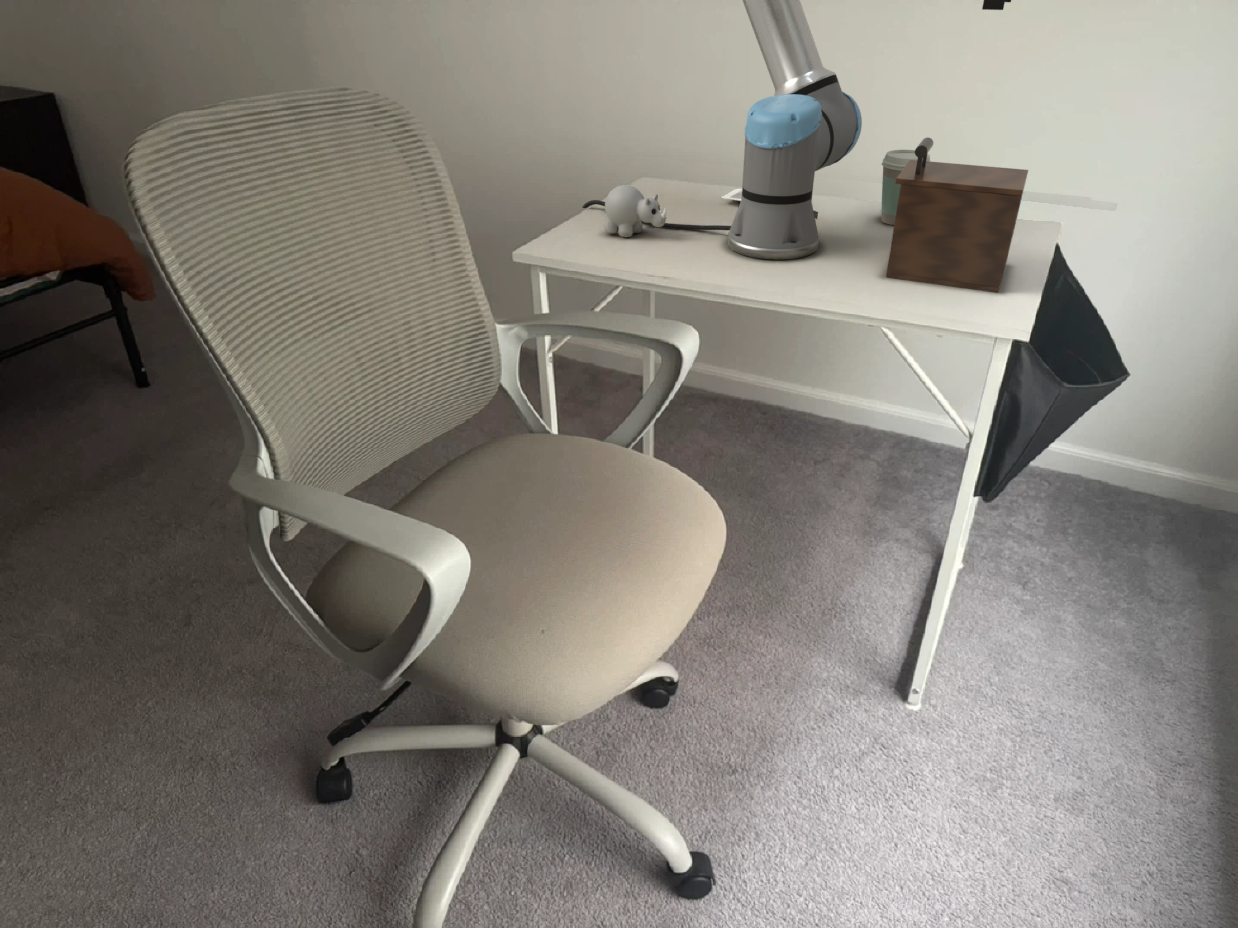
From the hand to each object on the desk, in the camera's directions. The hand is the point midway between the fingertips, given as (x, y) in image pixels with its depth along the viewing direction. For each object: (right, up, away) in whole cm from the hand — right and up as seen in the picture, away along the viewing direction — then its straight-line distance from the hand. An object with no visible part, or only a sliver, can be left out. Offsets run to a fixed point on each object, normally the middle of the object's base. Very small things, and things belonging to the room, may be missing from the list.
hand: (997, 5), depth 124 cm
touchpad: (-26, -15, +45) cm, 54 cm away
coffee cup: (-3, -21, +35) cm, 41 cm away
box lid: (-3, -24, +5) cm, 24 cm away
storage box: (-3, -36, +12) cm, 38 cm away
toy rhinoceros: (-52, -26, +30) cm, 65 cm away
